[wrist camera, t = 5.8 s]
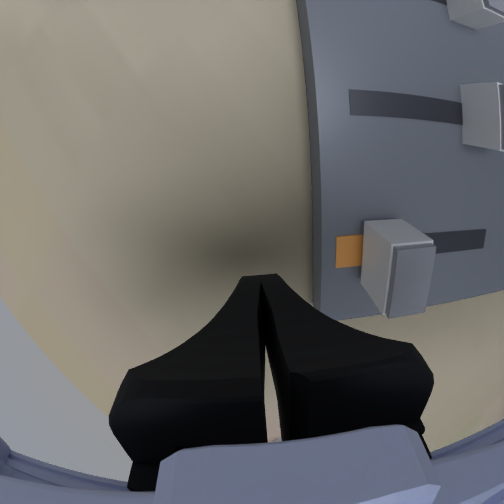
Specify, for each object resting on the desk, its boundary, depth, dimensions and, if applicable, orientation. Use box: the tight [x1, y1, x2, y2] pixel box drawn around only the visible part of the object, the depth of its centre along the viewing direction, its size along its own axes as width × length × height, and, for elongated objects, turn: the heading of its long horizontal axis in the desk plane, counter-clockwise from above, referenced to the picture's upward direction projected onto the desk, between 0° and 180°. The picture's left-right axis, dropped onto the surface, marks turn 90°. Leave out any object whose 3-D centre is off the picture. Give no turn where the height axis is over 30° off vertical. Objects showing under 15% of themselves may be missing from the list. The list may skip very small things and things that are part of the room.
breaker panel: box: [296, 0, 504, 320], centre depth 11 cm, size 16×22×5 cm
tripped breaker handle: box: [360, 219, 436, 318], centre depth 13 cm, size 2×3×3 cm, turn 4°
